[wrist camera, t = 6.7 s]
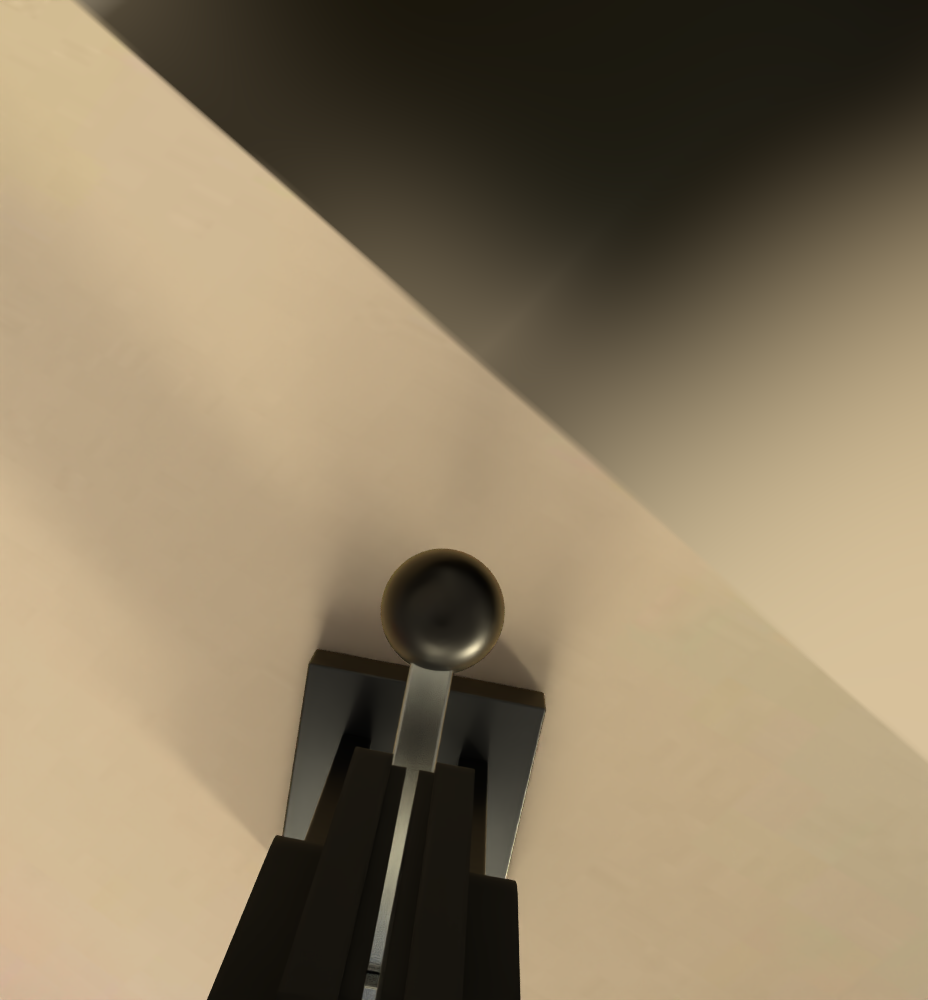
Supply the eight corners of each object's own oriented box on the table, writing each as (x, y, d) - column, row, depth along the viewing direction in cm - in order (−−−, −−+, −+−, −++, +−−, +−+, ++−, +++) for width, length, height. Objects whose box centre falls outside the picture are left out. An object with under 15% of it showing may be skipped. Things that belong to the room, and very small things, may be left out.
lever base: (316, 648, 28) (187, 892, 16) (544, 691, 28) (575, 966, 16) (282, 867, 30) (147, 1219, 18) (494, 908, 30) (490, 1284, 19)
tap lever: (397, 545, 23) (391, 530, 20) (508, 566, 23) (520, 555, 20) (294, 1044, 20) (269, 1119, 17) (418, 1068, 21) (414, 1147, 17)
